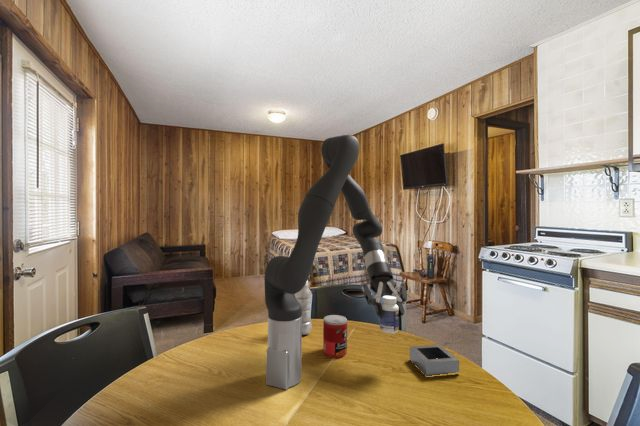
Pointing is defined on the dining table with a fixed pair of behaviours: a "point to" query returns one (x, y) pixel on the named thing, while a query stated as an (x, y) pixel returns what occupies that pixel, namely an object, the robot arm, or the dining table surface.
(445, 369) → the socket cup
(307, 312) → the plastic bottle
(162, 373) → the dining table surface
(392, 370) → the dining table surface
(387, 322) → the pill bottle
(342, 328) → the canned food
